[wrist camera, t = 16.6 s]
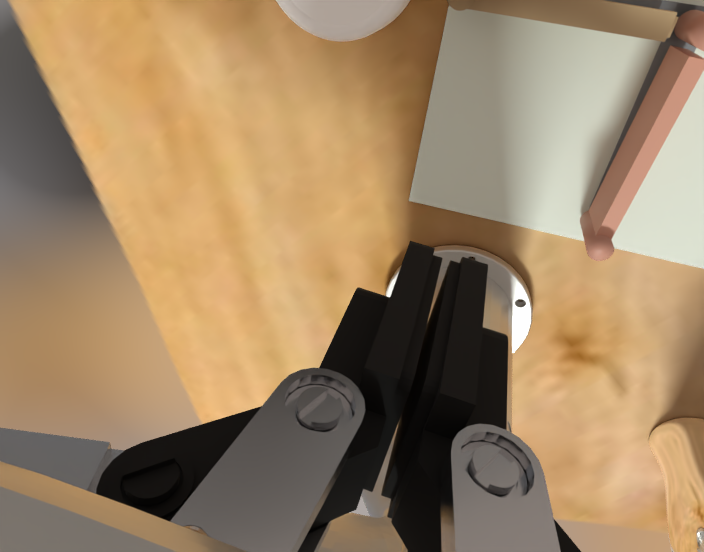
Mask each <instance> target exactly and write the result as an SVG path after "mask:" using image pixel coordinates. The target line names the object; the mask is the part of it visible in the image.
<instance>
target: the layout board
mask: <svg viewBox="0 0 704 552" xmlns="http://www.w3.org/2000/svg"><path fill="white" fill-rule="evenodd" d="M605 1H612V2H618V3H624V4H631V5H637V6H643V7H650V8H656V9H662V10H669V11H674V12H677V15H676V16H677V17H680V16H681V15H682V14H684V13H685V12H687V11H690V10H700V11H703V12H704V0H605ZM670 45H671V46H676V47H680V48H685V49H688V50H690V51H692V52H694V53H695V54H697V55H699V56H701V57H703V58H704V51H702V50H700V49H698V48H696V47H694V46H692V45H690V44H688V43H687V42H685V41H683V40H681V39H679V38H678V37H677V36H676V35H675V32H674V29H673V32H672V34H671V36H670V38H666V40H665V42H662V41H656V40H650V39H644V38H638V37H632V36H626V35H620V34H614V33H608V32H602V31H596V30H590V29H584V28H578V27H572V26H566V25H560V24H554V23H548V22H542V21H536V20H530V19H524V18H518V17H513V16H507V15H501V14H495V13H489V12H483V11H477V10H471V9H466V10H462V11H458V10H455V9H453V8H452V7H451V6H450V5H449V7H448V12H447V17H446V21H445V26H444V31H443V36H442V41H441V46H440V51H439V56H438V60H437V65H436V70H435V75H434V80H433V85H432V90H431V95H430V99H429V104H428V109H427V114H426V119H425V124H424V129H423V134H422V138H421V143H420V148H419V153H418V158H417V163H416V168H415V173H414V178H413V182H412V187H411V192H410V197H409V201H412V202H416V203H420V204H425V205H429V206H433V207H438V208H442V209H446V210H451V211H455V212H459V213H464V214H468V215H472V216H477V217H481V218H486V219H490V220H494V221H499V222H503V223H507V224H512V225H516V226H520V227H525V228H529V229H533V230H538V231H542V232H546V233H551V234H555V235H559V236H564V237H568V238H572V239H577V240H581V241H584V237H583V233H582V229H581V225H580V217H581V216H582V214H583V213H584V212H586V211H588V210H589V209H590V207H591V205H592V203H593V201H594V198H595V196H596V194H597V192H598V190H599V188H600V186H601V184H602V182H603V180H604V178H605V176H606V174H607V172H608V170H609V168H610V166H611V164H612V162H613V160H614V158H615V156H616V154H617V152H618V150H619V148H620V146H621V144H622V142H623V140H624V138H625V136H626V134H627V132H628V130H629V128H630V126H631V124H632V122H633V120H634V118H635V116H636V114H637V112H638V110H639V108H640V106H641V104H642V102H643V100H644V98H645V95H646V93H647V91H648V89H649V87H650V85H651V83H652V81H653V79H654V77H655V75H656V73H657V71H658V69H659V67H660V65H661V63H662V61H663V59H664V57H665V55H666V53H667V51H668V49H669V47H670ZM611 240H612V243H613V246H614V248H616V249H620V250H624V251H629V252H633V253H638V254H642V255H646V256H651V257H655V258H659V259H664V260H668V261H672V262H677V263H681V264H685V265H690V266H694V267H698V268H703V269H704V71H703V72H702V74H701V76H700V78H699V80H698V82H697V83H696V85H695V87H694V89H693V91H692V93H691V94H690V96H689V98H688V100H687V102H686V104H685V105H684V107H683V109H682V111H681V113H680V115H679V116H678V118H677V120H676V122H675V124H674V126H673V127H672V129H671V131H670V133H669V135H668V137H667V138H666V140H665V142H664V144H663V146H662V148H661V149H660V151H659V153H658V155H657V157H656V159H655V160H654V162H653V164H652V166H651V168H650V170H649V171H648V173H647V175H646V177H645V179H644V181H643V182H642V184H641V186H640V188H639V190H638V192H637V193H636V195H635V197H634V199H633V201H632V203H631V204H630V206H629V208H628V210H627V212H626V214H625V215H624V217H623V219H622V221H621V223H620V225H619V227H618V228H617V230H616V232H615V234H614V236H613V238H612V239H611Z"/></svg>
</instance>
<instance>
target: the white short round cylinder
mask: <svg viewBox="0 0 704 552" xmlns="http://www.w3.org/2000/svg"><path fill="white" fill-rule="evenodd" d="M276 1H277V3H278V4H279V6H280V7H281V9H282V10H283V11H284V12H285V14H286V15H287V16H288V17H289V18H290V19H291V20H292V21H293V22H294V23H295V24H297V25H298V26H299V27H301V28H302V29H304V30H305V31H307V32H309V33H311V34H312V35H315V36H317V37H320V38H322V39H326V40H330V41H338V42H344V41H353V40H359V39H362V38H364V37H367V36H369V35H371V34H373V33H375V32H377V31H379V30H381V29H382V28H384V27H385V26H387V25H388V24H390V23H391V22H392V21H393V20H394V19H396V18H397V17H398V16H399V15H400V14H401V12H402V11H403V10H404V9H405V7H406V6H407V5H408V3H409V2H410V0H276Z"/></svg>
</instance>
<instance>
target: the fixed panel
mask: <svg viewBox="0 0 704 552" xmlns="http://www.w3.org/2000/svg"><path fill="white" fill-rule="evenodd" d="M447 1H448V4H449V5H450V6H451V7H452V8H453V9H455V10H458V11H462V10H466V9H471V10H477V11H483V12H489V13H495V14H501V15H507V16H513V17H518V18H524V19H530V20H536V21H542V22H548V23H554V24H560V25H566V26H572V27H578V28H584V29H590V30H596V31H602V32H608V33H614V34H620V35H626V36H632V37H638V38H644V39H650V40H656V41H662V42H665V40H666V38H670V36H671V34H672V32H673V29H674V27H675V25H676V22H677V20H678V18H679V17H677V16H676V15H677V12H674V11H669V10H662V9H656V8H650V7H643V6H637V5H631V4H624V3H618V2H612V1H605V0H447Z"/></svg>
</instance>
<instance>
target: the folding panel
mask: <svg viewBox="0 0 704 552" xmlns="http://www.w3.org/2000/svg"><path fill="white" fill-rule="evenodd" d="M674 32H675V35H676V36H677V37H678V38H679V39H681V40H683V41H685V42H687V43H688V44H690V45H692V46H694V47H696V48H698V49H700V50H702V51H704V12H703V11H700V10H690V11H687V12H685V13H684V14H682V15H681V16H680V17H679V18H678V20H677V22H676V25H675V27H674ZM703 71H704V58H703V57H701V56H699V55H697V54H695V53H694V52H692V51H690V50H688V49H685V48H680V47H676V46H671V45H670V47H669V49H668V51H667V53H666V55H665V57H664V59H663V61H662V63H661V65H660V67H659V69H658V71H657V73H656V75H655V77H654V79H653V81H652V83H651V85H650V87H649V89H648V91H647V93H646V95H645V98H644V100H643V102H642V104H641V106H640V108H639V110H638V112H637V114H636V116H635V118H634V120H633V122H632V124H631V126H630V128H629V130H628V132H627V134H626V136H625V138H624V140H623V142H622V144H621V146H620V148H619V150H618V152H617V154H616V156H615V158H614V160H613V162H612V164H611V166H610V168H609V170H608V172H607V174H606V176H605V178H604V180H603V182H602V184H601V186H600V188H599V190H598V192H597V194H596V196H595V198H594V201H593V203H592V205H591V207H590V209H589V210H588V211H586V212H584V213H583V214H582V216H581V217H580V225H581V229H582V233H583V237H584V241H585V245H586V250H587V254H588V256H589V257H590V258H591V259H593V260H597V261H602V260H606V259H608V258H609V257H610V256H611V255H612V254H613V252H614V246H613V243H612V240H611V239H612V238H613V236H614V234H615V232H616V230H617V228H618V227H619V225H620V223H621V221H622V219H623V217H624V215H625V214H626V212H627V210H628V208H629V206H630V204H631V203H632V201H633V199H634V197H635V195H636V193H637V192H638V190H639V188H640V186H641V184H642V182H643V181H644V179H645V177H646V175H647V173H648V171H649V170H650V168H651V166H652V164H653V162H654V160H655V159H656V157H657V155H658V153H659V151H660V149H661V148H662V146H663V144H664V142H665V140H666V138H667V137H668V135H669V133H670V131H671V129H672V127H673V126H674V124H675V122H676V120H677V118H678V116H679V115H680V113H681V111H682V109H683V107H684V105H685V104H686V102H687V100H688V98H689V96H690V94H691V93H692V91H693V89H694V87H695V85H696V83H697V82H698V80H699V78H700V76H701V74H702V72H703Z"/></svg>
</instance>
